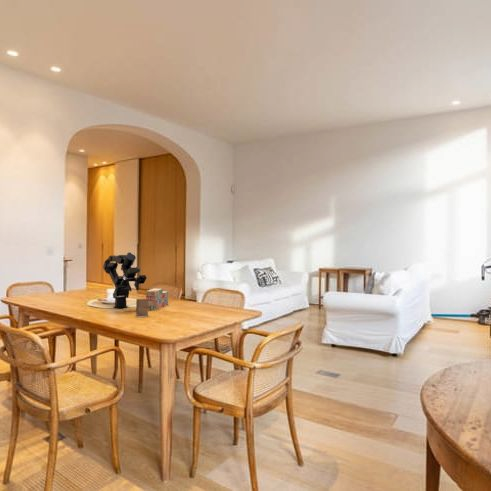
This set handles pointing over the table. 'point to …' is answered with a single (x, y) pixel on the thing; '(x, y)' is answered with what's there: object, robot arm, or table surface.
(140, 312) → the walnut block
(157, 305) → the stack of blocks
